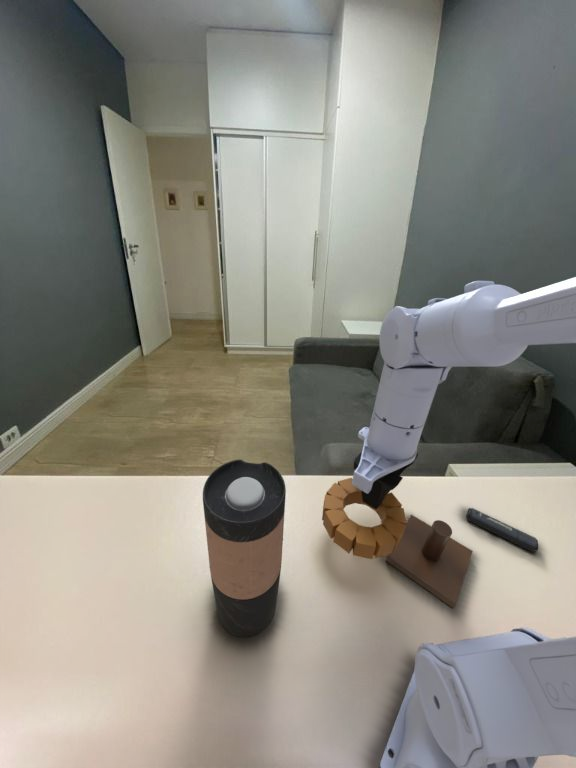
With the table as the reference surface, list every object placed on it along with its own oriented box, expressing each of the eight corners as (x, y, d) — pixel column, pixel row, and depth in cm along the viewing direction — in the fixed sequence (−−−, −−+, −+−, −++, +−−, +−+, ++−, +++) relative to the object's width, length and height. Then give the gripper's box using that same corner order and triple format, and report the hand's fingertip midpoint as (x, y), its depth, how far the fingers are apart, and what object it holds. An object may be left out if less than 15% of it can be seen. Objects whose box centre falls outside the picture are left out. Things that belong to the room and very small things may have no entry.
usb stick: (535, 542, 47) (539, 536, 46) (535, 556, 45) (539, 549, 44) (467, 510, 51) (470, 504, 51) (464, 521, 50) (467, 514, 49)
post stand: (452, 608, 38) (471, 578, 35) (385, 560, 43) (396, 529, 40) (469, 555, 44) (487, 526, 41) (409, 519, 49) (420, 489, 46)
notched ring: (380, 576, 34) (384, 564, 33) (307, 522, 39) (308, 510, 38) (412, 518, 41) (417, 505, 39) (347, 479, 46) (349, 467, 45)
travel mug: (236, 658, 33) (228, 542, 23) (203, 596, 38) (186, 480, 28) (291, 608, 37) (304, 493, 27) (255, 559, 42) (256, 447, 32)
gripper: (391, 380, 42) (373, 455, 49) (335, 426, 32) (321, 512, 39) (445, 399, 38) (417, 478, 45) (400, 459, 28) (372, 548, 35)
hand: (375, 496), depth 42 cm, fingers closed on notched ring, 3 cm apart
